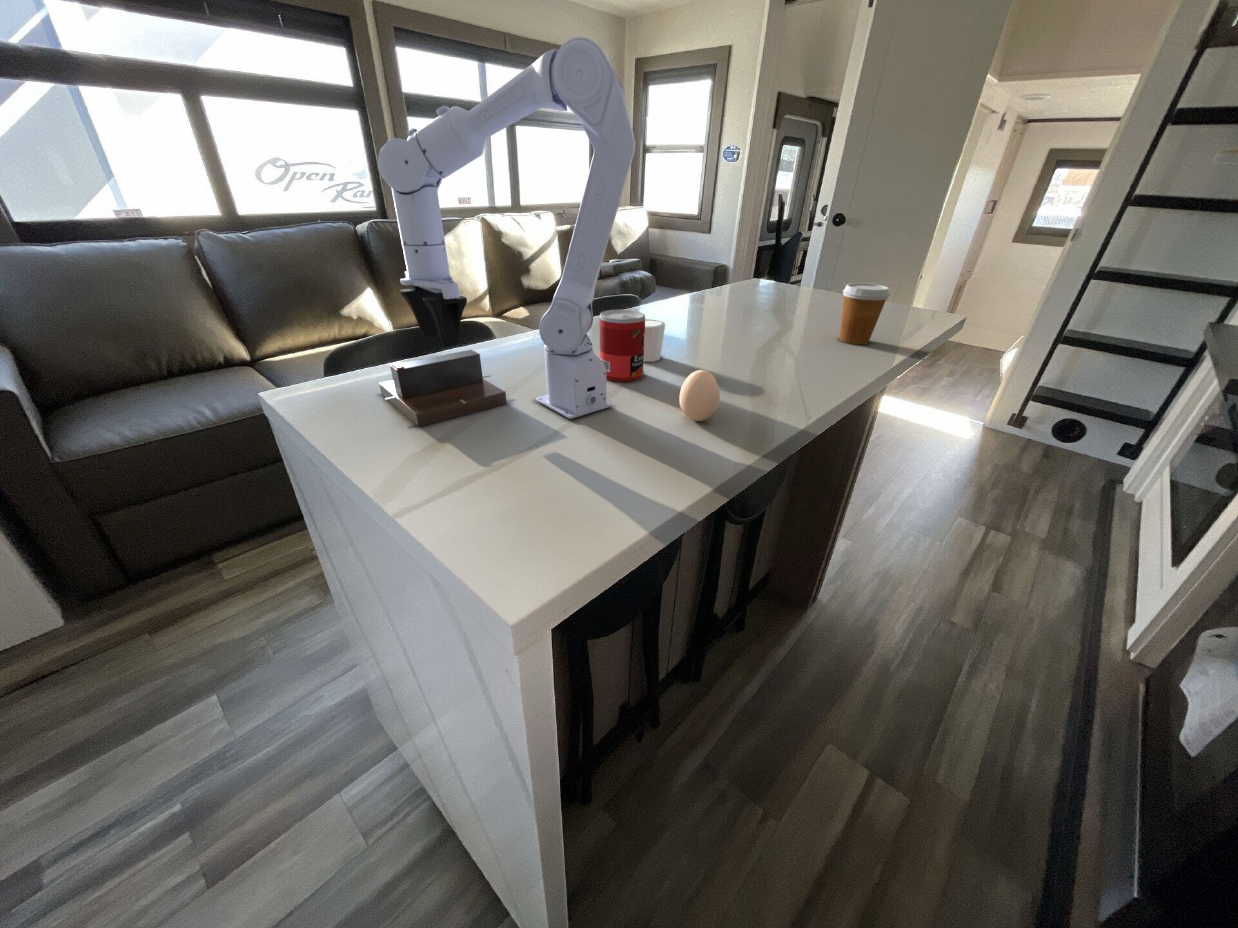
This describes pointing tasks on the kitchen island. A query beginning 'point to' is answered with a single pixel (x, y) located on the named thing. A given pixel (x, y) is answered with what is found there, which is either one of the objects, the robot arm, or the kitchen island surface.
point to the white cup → (653, 340)
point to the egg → (699, 395)
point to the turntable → (445, 401)
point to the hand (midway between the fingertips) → (440, 340)
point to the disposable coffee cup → (861, 311)
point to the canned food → (622, 344)
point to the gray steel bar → (436, 373)
